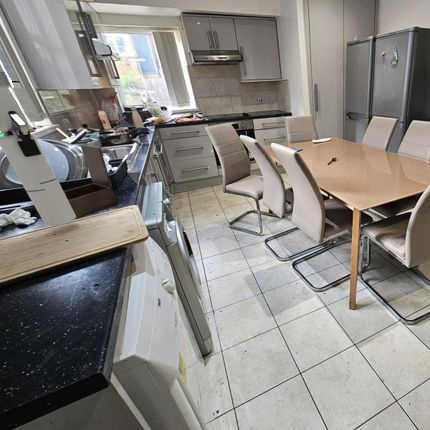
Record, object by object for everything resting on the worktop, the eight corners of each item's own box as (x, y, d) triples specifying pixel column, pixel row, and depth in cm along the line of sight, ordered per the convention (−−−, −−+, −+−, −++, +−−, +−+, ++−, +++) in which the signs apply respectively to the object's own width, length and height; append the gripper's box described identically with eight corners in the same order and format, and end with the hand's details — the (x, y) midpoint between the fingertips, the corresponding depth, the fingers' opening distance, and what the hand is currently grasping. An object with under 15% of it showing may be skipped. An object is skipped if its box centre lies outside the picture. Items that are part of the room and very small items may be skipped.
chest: (77, 218, 92) (68, 200, 89) (60, 211, 98) (51, 194, 95) (118, 204, 102) (111, 187, 99) (100, 198, 108) (93, 182, 105)
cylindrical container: (79, 217, 83) (38, 134, 72) (50, 228, 78) (0, 139, 66) (70, 213, 86) (29, 132, 75) (41, 222, 81) (-8, 137, 70)
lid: (98, 147, 93) (113, 146, 97) (80, 145, 99) (95, 143, 103) (110, 186, 99) (124, 183, 102) (92, 182, 105) (106, 179, 108)
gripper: (-45, 83, 66) (-3, 155, 74) (-24, 80, 58) (21, 161, 66) (-2, 82, 72) (33, 149, 80) (23, 80, 64) (58, 154, 72)
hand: (27, 154), depth 73 cm, fingers closed on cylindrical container, 7 cm apart
